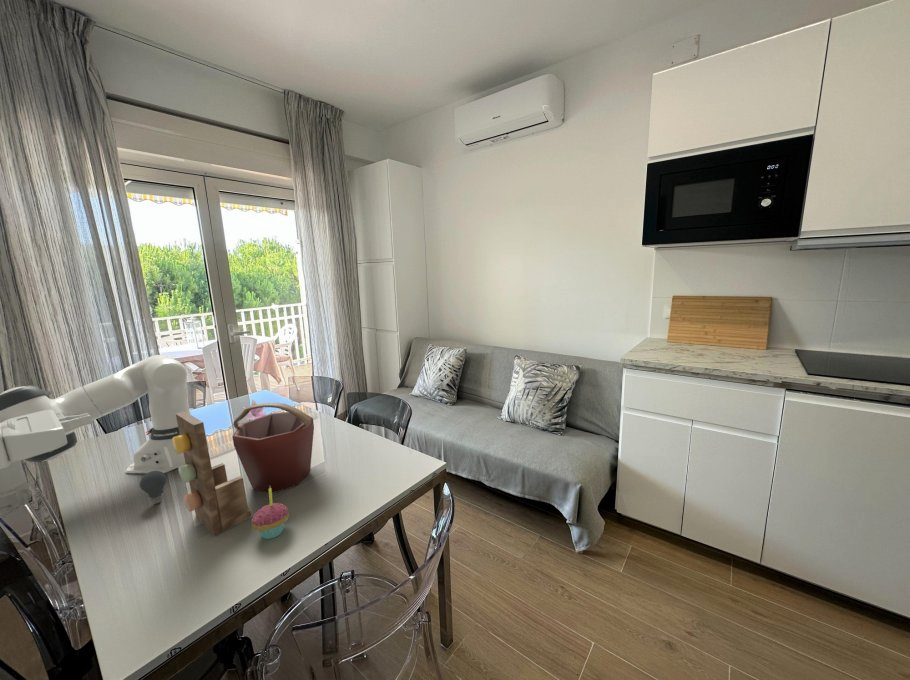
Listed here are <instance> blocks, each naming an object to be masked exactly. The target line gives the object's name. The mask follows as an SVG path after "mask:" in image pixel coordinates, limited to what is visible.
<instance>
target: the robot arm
mask: <svg viewBox="0 0 910 680" xmlns="http://www.w3.org/2000/svg"><path fill="white" fill-rule="evenodd" d="M187 374H188V373H187V370H186V367H185V365H184V364H183V363H182V362H181V361H179V360H176V359H174V358H172V357H169V356H168V355H165V354H156V355H155V354H154V355H152V356H151V355H150V356H149V357H146V358H144V359H142V360H140V361H138V362H137V361H136V363H133V364H130V365H129V366H127V367H125V368H123V369H121V370H119V371H117V372H115V373H113V374H110V375H107V376H106V377H103V378H100V379H98V380H95V381H93V382H90V383H87V384H84V385H82V386H79V387H77V388H75V389H72V390H71V391H68V392H65V393H64V394H62V395H60V396H58V397H55V398H49V395H51V394H53V391H51V390H45V389H44V388H41V387H39V386H35V385H25V386H16V387H12V388H9V389H7V390H5V391H2V392H1V393H0V470H2V469H5V468H8V467H9V466H11V463H15V462H20V461H23V460H24V461H26V462H30V463H41V462H45V461H46V462H47V461H51V460H55V459H57V458H59V457H62V456H64V455H65V454H67V453H69V451H71V449H72V448H73V447H75V446H76V444H77V443H78V439H77V438H78V437H77V434H76V432H75V431H74V430H76V429H78V428H81V427H83V426H87V425H91V424H93V422H94V421H95V420H97V419H100V418H102V417H104V416H106V415H108V414H111V413H113V412H115V411H116V412H117V410H120V409H123V408H125V407H126V406H129V405H131V404H133V403H135V402H136V401H137V400H138V399H140V398H142V397H143V396H145V395H146V394H147V395H148V409H149V412H150V418H151V422H152V428H150V429H149V430H148V431H146V432H145V433H146V434H145V435H146V436H148V435H149V438H148V439H147V440H146V441H145V442H144V443H143V444H142V445H141V446H140V447H138V448H137V449H136V450H135V452H134V453H133V463H130V464H129V466H128V467H127V468H126V474H147V473H149V472H151V471H161V472H163V473H164V474H166V473H169V472H170V471H171V472H172V471H173V470H176V469H178V468H179V467H180V466H182V465H185V464H186V463H185V458H184V453H180V454H177V453H176V451H175V449H174V445H173V437H175V436H179V435H180V433H179V428H178V423H177V418H176V413H180V412H184V411H185V412H187V413H188V414H190V415H191V410H190V409H191V408H190V406H189V405H190V404H189V399H188V377H187V376H188V375H187Z"/></svg>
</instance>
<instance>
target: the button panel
mask: <svg viewBox="0 0 910 680" xmlns="http://www.w3.org/2000/svg"><path fill="white" fill-rule="evenodd" d="M176 418H177V423H178V428H179V433H180V435H182V434H185V433H186V434H187V436H188V438H189V440H190V444H191V450H189V451H186V452H183V453H184V458H185V463H186V464H188V463H192V464H193V466H194V468H195V471H196V479H194V480H192V481H189V482H188V484H189V488H190V489H189V490H190V493H192V492H194V491H197V492H198V493H199V495H200V497H201V501H202V507H200V508H198V509H195V510H194V513H195V517H196V518H197V519H198V520H199V521H200V522H201V523H202V524H203V525H204V526H205V527H206V528H207V530H208V531H209V532H210V533H212V535H213V536H214V537H215V536H218V535H219V534H220V535H221V534H222V533H224V532H225V531H227V530H229V529H232V528H233V527H236V526H238V525H239V524H241V523H242V522H245V521H246V520H249V519H252V518H253V516H252V511H251V509H249V506H248V499H247V494H246V493H247V492H246V489H245V488H246V486H245V483H244V481H245V480H244V477H243V476H241V475H239V476H237V477H235V478H233V479H230V480H228V476H227V470H226V465H225V464H224V463H223V462H221V463H219V464H216V465H214V466H213V465H212V463H211V457H210V452H209V445H208V441H207V435H206V430H205V425H204V424H205V423H204V422H203V421H202V420H200V419H199V418H197V417H195V416H194V415H191V413H190V414H188V413H187V412H185V411H184V412H180V413H176Z"/></svg>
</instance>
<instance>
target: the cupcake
mask: <svg viewBox="0 0 910 680" xmlns="http://www.w3.org/2000/svg"><path fill="white" fill-rule="evenodd" d="M268 497H269V498H268V499H269V504H267V505H263V506H262V507H260V508H258V510H257V511H255V513H254V514H253V516H252V517H251V526H252V527H251V528H252V530H254V531H258V532H259V534H260V535H261V536H262V538H263V539H266V540H269V539H274V538H276V537H278V536H279V535H281V534H282V532H283V531H284V526H285V523H286V521H287V520H288V519H289V516H290V515H289V514H290V513H289V510H288V509H289V507H287V506H286V505H285V504H283V503H280V502H273V493H272V489H271V488H270V489H269V493H268Z"/></svg>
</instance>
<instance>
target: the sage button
mask: <svg viewBox="0 0 910 680" xmlns="http://www.w3.org/2000/svg"><path fill="white" fill-rule="evenodd" d="M177 470H178V474H179V477H180V480H181V482H182V483H183V484H186V483H189V481H192V480H194V479H196V471H195V468H194V466H193V464H192V463H188V464H185V465H182V466H180V467H179V468H177Z"/></svg>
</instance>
